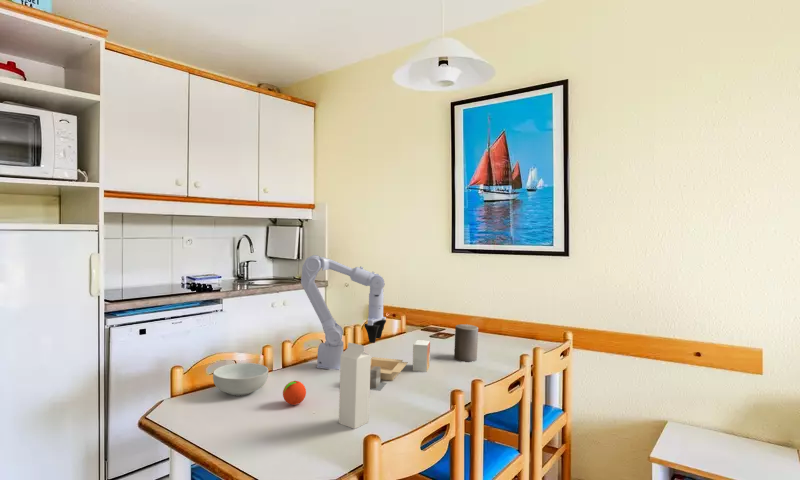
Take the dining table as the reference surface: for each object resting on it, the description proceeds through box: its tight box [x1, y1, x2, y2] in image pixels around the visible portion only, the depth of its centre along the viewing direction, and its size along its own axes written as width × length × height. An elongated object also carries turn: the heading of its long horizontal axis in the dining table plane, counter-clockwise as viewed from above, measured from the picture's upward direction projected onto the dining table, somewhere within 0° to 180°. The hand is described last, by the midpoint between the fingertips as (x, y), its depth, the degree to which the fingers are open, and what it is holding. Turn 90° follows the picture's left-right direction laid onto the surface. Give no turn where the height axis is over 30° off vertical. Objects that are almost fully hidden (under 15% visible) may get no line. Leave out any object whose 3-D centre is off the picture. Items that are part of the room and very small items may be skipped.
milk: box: [338, 342, 372, 430], centre depth 130 cm, size 6×6×22 cm
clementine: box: [282, 380, 307, 406], centre depth 142 cm, size 8×7×7 cm
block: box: [370, 366, 381, 388], centre depth 161 cm, size 8×5×6 cm, turn 76°
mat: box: [370, 381, 387, 392], centre depth 161 cm, size 12×8×1 cm, turn 76°
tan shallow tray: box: [370, 356, 408, 381], centre depth 174 cm, size 17×18×4 cm
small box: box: [412, 339, 431, 373], centre depth 182 cm, size 8×6×10 cm
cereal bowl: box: [212, 362, 269, 397], centre depth 152 cm, size 17×17×7 cm
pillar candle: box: [453, 323, 479, 363], centre depth 199 cm, size 10×10×15 cm
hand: (375, 340), depth 183 cm, fingers open, 7 cm apart
